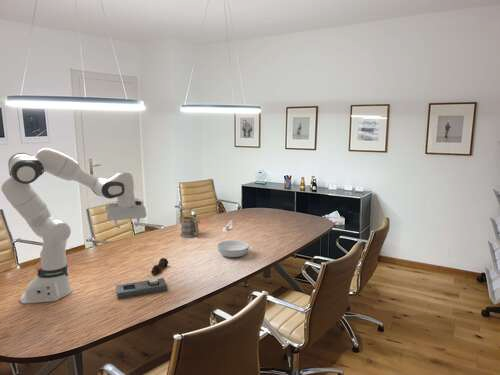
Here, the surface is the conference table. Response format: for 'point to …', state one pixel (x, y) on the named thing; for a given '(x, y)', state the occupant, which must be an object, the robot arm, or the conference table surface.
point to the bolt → (159, 266)
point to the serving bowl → (233, 248)
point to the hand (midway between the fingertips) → (127, 227)
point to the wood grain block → (153, 282)
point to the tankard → (189, 227)
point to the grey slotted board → (140, 288)
